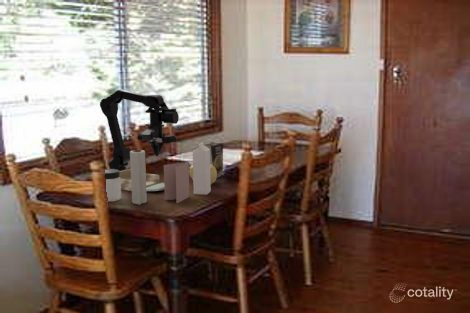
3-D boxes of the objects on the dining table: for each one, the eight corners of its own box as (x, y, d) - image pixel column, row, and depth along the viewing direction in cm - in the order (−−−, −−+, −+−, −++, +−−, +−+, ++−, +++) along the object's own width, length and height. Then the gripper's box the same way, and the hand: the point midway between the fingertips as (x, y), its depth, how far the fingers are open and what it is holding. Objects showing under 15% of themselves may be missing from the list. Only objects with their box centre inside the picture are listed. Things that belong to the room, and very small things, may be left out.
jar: (123, 200, 245) (122, 172, 243) (103, 202, 241) (102, 174, 239) (117, 195, 253) (116, 168, 251) (98, 198, 249) (97, 170, 247)
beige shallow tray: (113, 188, 266) (112, 173, 264) (135, 181, 279) (135, 167, 278) (137, 192, 259) (136, 176, 258) (159, 184, 272) (159, 169, 271)
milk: (193, 194, 254) (191, 143, 250) (197, 190, 260) (196, 141, 256) (207, 194, 253) (205, 143, 249) (211, 191, 258) (209, 141, 254)
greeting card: (188, 196, 250) (187, 161, 247) (196, 200, 244) (196, 164, 241) (163, 200, 244) (162, 164, 241) (172, 204, 238) (170, 167, 235)
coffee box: (213, 179, 283) (213, 145, 280) (202, 177, 286) (201, 144, 283) (223, 175, 290) (223, 143, 287) (213, 174, 294) (212, 142, 291)
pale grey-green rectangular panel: (140, 189, 259) (158, 188, 254) (160, 182, 271) (178, 181, 266) (140, 192, 259) (158, 192, 254) (160, 185, 271) (178, 184, 266)
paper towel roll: (137, 199, 245) (134, 149, 242) (149, 201, 243) (147, 149, 239) (127, 204, 239) (125, 152, 235) (140, 205, 237) (138, 152, 233)
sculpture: (186, 186, 269) (186, 162, 267) (199, 180, 280) (199, 158, 278) (209, 188, 264) (208, 164, 262) (221, 182, 275) (220, 160, 273)
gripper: (128, 123, 269) (130, 156, 272) (161, 126, 260) (162, 160, 263) (144, 120, 279) (145, 153, 282) (176, 123, 269) (177, 157, 272)
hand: (157, 156), depth 274 cm, fingers closed
